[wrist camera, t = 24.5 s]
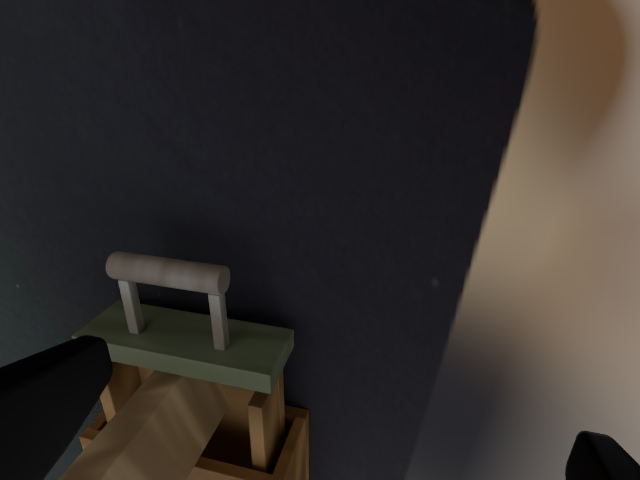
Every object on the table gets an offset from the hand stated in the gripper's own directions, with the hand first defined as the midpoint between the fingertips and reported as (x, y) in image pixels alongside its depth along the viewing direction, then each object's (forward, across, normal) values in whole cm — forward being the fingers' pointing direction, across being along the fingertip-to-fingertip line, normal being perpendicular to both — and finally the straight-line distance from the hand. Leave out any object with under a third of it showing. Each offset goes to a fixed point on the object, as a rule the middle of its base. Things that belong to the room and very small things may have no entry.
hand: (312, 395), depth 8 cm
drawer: (+12, +10, +12) cm, 20 cm away
